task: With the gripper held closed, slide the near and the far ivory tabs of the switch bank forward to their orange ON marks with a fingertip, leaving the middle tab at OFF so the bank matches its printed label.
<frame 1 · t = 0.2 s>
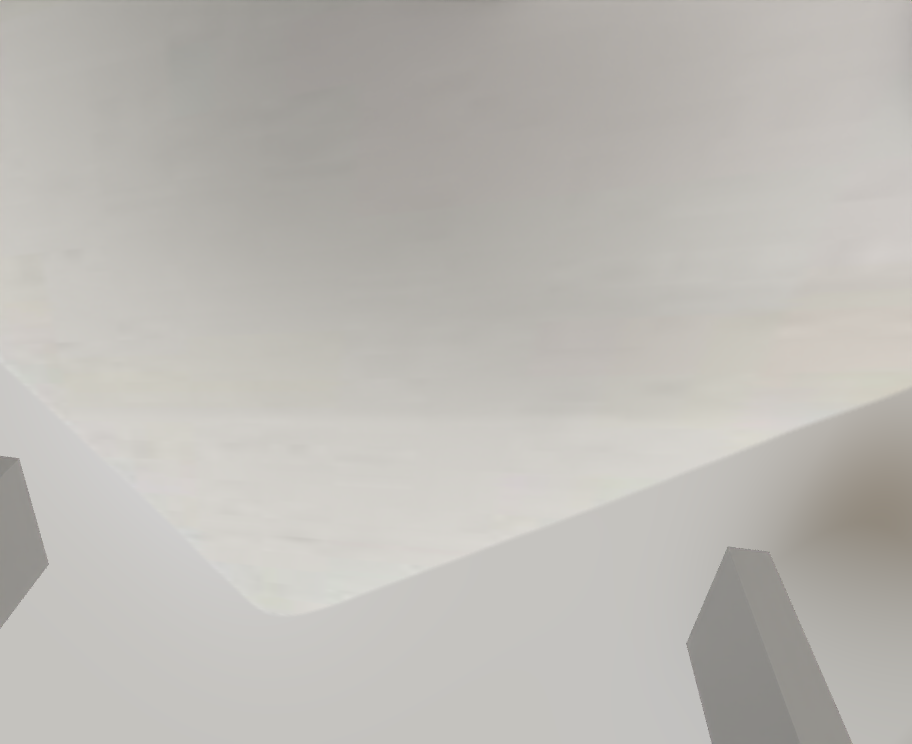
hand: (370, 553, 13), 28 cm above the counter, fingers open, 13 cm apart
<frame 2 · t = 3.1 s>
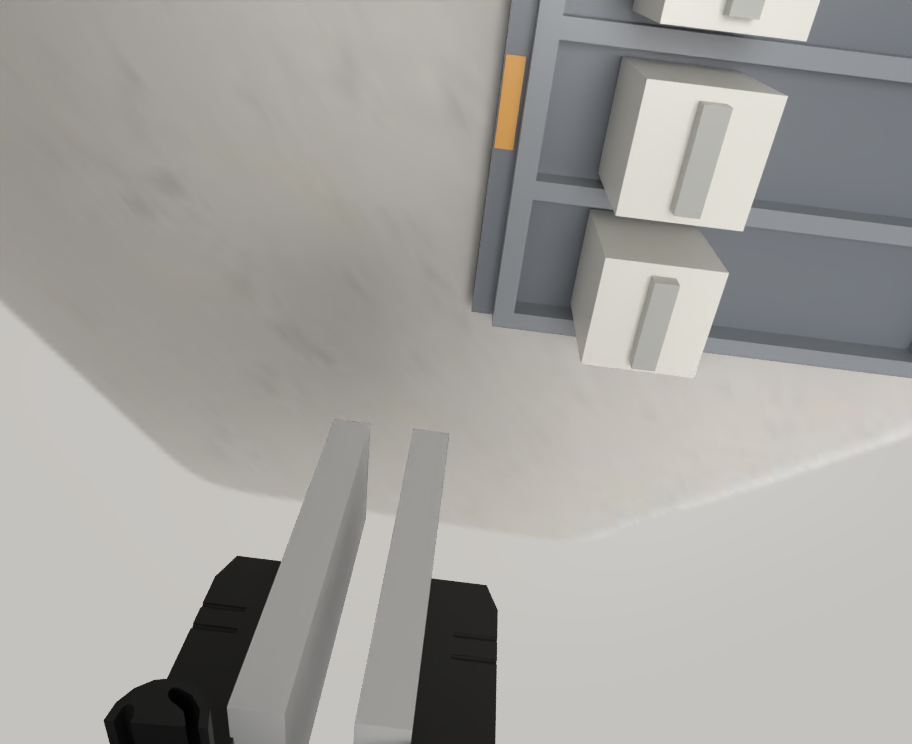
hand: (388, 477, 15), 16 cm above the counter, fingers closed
tab A: (641, 293, 25), point 5 cm above the counter, slide at -4.0 cm
switch bank: (760, 126, 26), on the counter
tab B: (681, 141, 23), point 5 cm above the counter, slide at -4.0 cm
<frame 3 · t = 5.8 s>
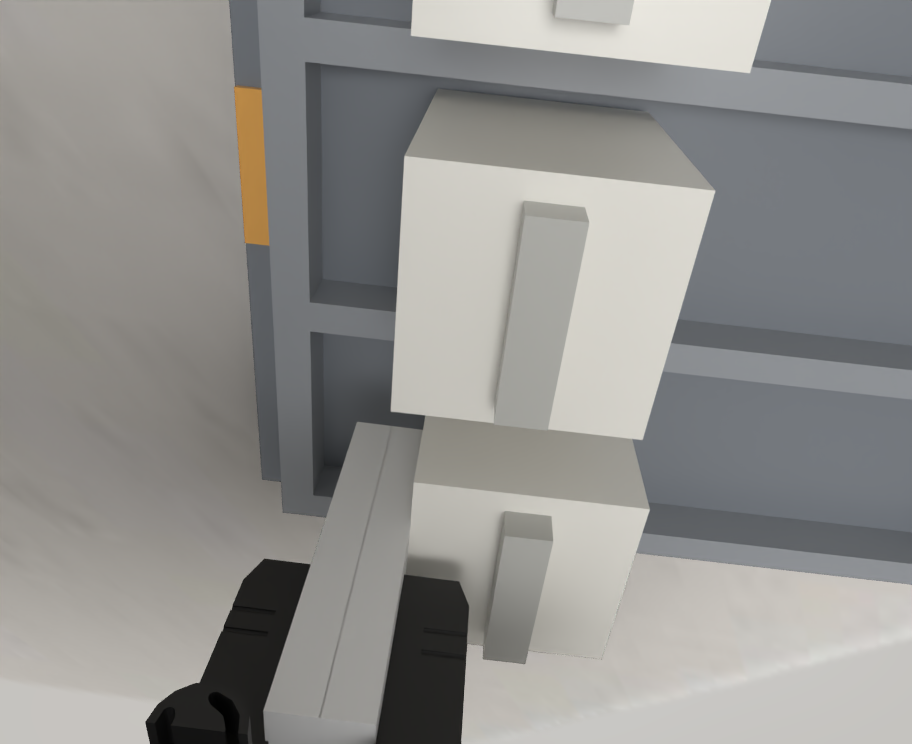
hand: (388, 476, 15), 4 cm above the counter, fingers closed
tab A: (514, 497, 15), point 5 cm above the counter, slide at -3.5 cm, touching gripper
switch bank: (701, 198, 16), on the counter
tab B: (531, 254, 12), point 5 cm above the counter, slide at -4.0 cm
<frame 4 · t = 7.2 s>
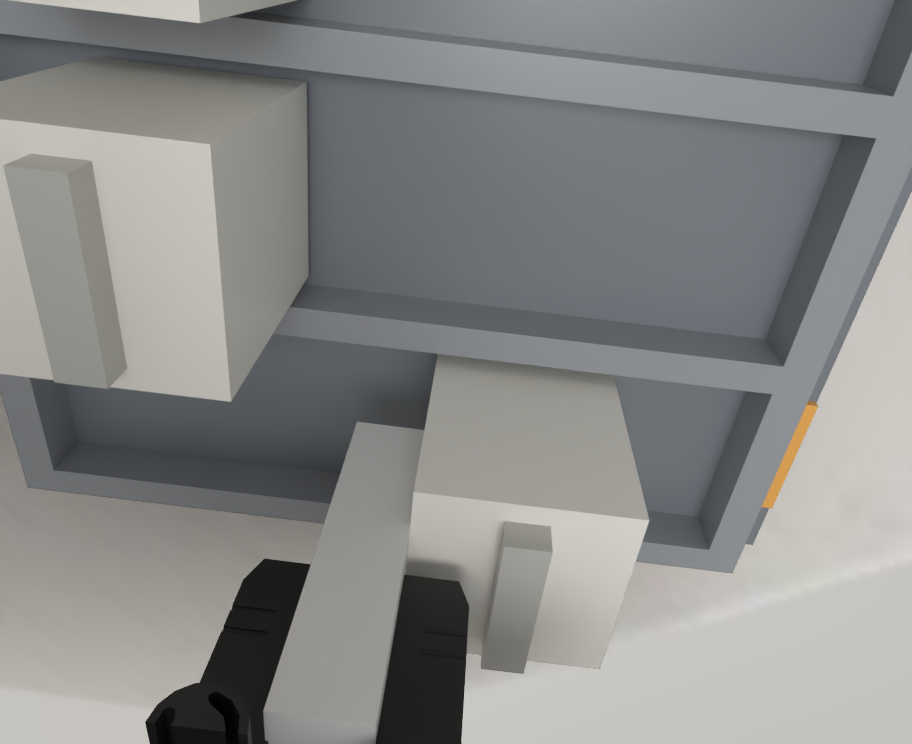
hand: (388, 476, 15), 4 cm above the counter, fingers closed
tab A: (513, 506, 15), point 5 cm above the counter, slide at 3.0 cm, touching gripper
switch bank: (415, 173, 16), on the counter
tab B: (150, 219, 12), point 5 cm above the counter, slide at -4.0 cm
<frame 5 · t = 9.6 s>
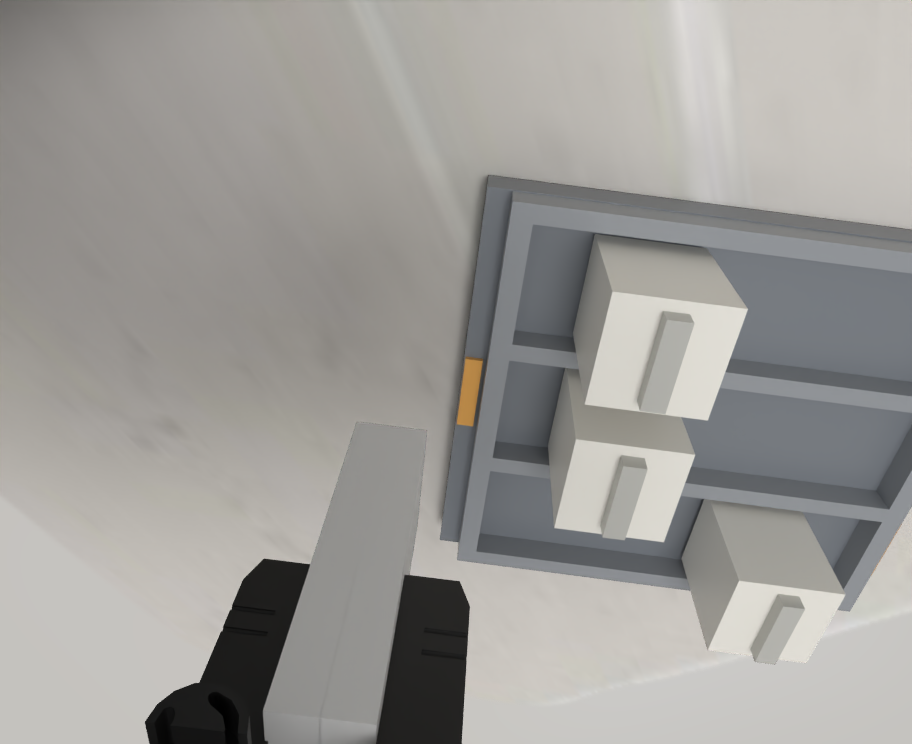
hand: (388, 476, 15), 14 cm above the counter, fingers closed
tab C: (650, 326, 23), point 5 cm above the counter, slide at -4.0 cm
tab A: (756, 580, 29), point 5 cm above the counter, slide at 3.2 cm
switch bank: (692, 401, 30), on the counter
tab B: (613, 454, 26), point 5 cm above the counter, slide at -4.0 cm
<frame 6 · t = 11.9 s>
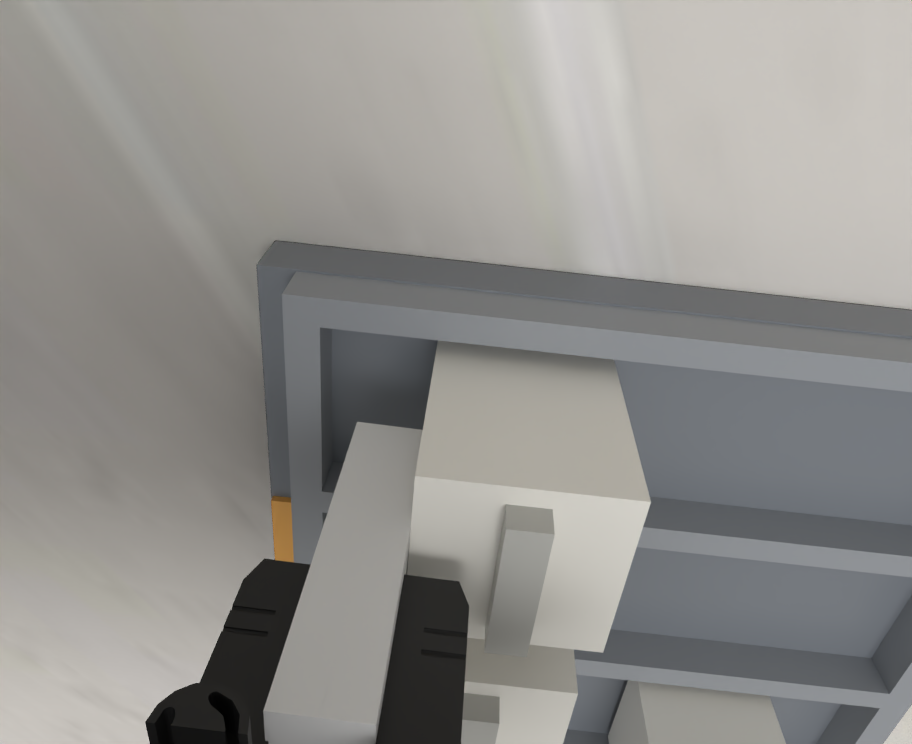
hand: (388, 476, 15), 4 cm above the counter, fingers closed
tab C: (515, 491, 15), point 5 cm above the counter, slide at -3.7 cm, touching gripper
switch bank: (611, 537, 21), on the counter
tab B: (476, 652, 18), point 5 cm above the counter, slide at -4.0 cm
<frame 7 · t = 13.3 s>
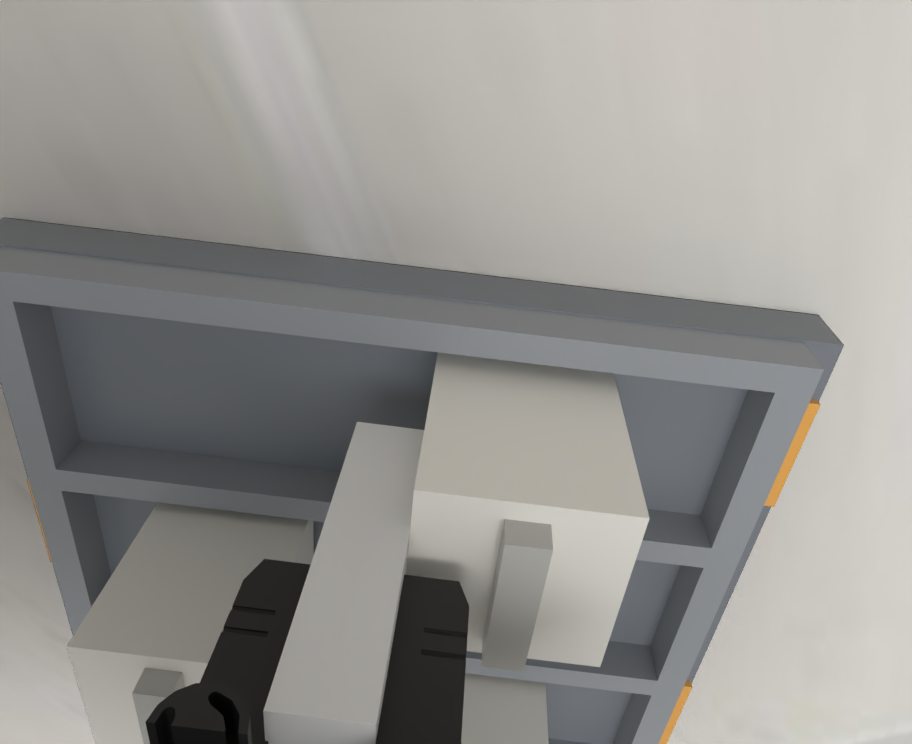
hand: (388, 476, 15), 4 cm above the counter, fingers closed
tab C: (513, 504, 15), point 5 cm above the counter, slide at 2.9 cm, touching gripper
switch bank: (392, 522, 21), on the counter
tab B: (208, 632, 17), point 5 cm above the counter, slide at -4.0 cm
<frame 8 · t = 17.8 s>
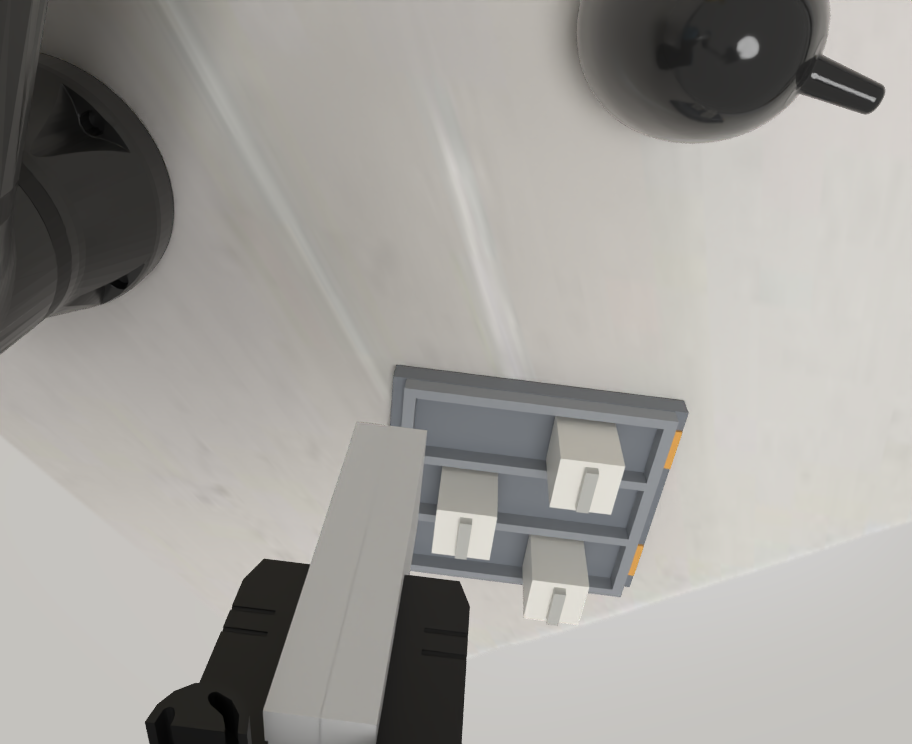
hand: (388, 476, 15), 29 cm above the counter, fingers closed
tab C: (583, 465, 46), point 5 cm above the counter, slide at 3.2 cm
pump dispenser: (670, 17, 36), on the counter
tab A: (554, 579, 51), point 5 cm above the counter, slide at 3.2 cm
switch bank: (521, 477, 53), on the counter
tab B: (465, 512, 49), point 5 cm above the counter, slide at -4.0 cm
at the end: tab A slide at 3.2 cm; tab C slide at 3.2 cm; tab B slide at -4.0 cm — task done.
